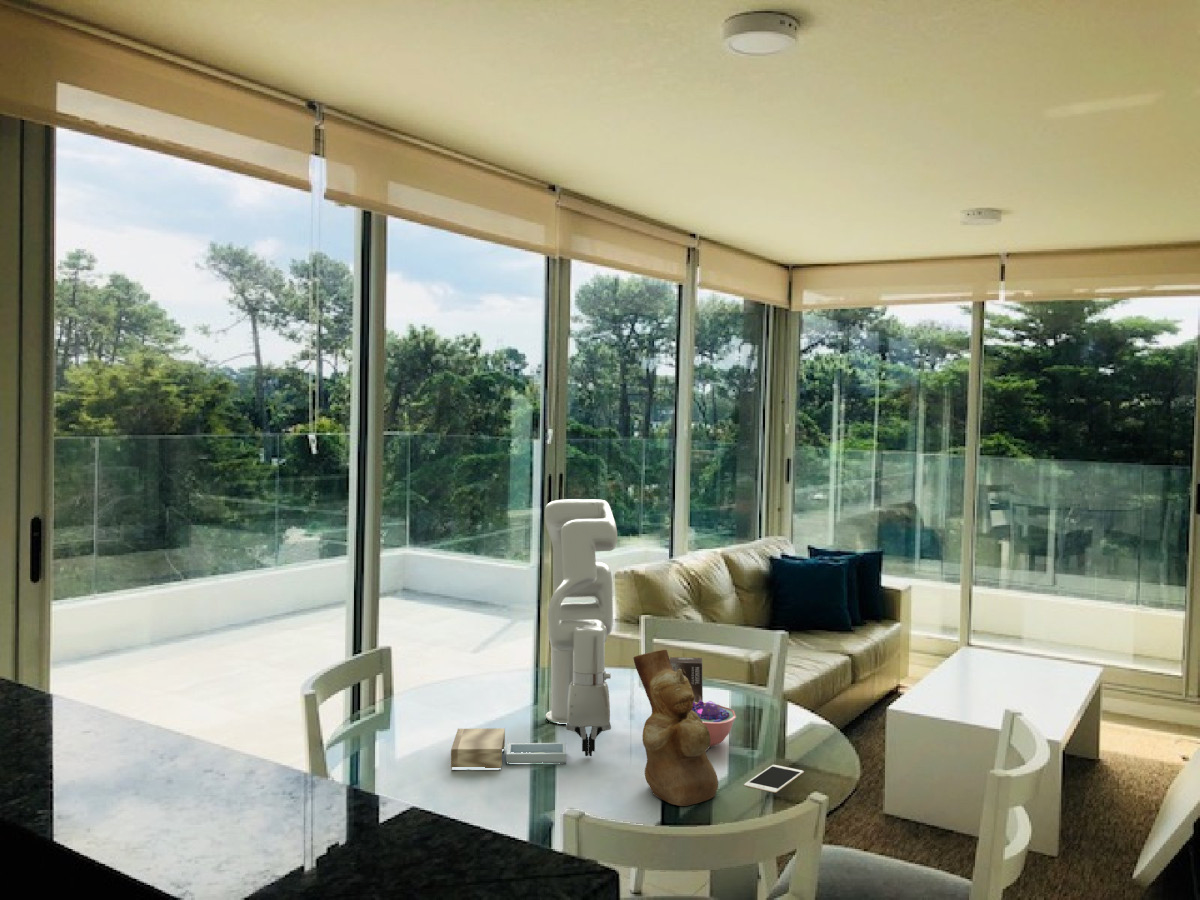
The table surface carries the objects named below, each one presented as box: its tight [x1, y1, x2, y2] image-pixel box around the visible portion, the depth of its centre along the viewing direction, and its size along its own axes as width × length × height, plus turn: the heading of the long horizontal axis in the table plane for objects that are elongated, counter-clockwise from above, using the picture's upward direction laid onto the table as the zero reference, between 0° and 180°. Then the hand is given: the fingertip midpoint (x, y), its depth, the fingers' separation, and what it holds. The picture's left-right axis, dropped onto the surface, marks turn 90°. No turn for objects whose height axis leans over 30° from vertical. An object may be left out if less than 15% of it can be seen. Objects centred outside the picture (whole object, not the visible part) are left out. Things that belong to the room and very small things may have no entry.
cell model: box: [692, 700, 737, 748], centre depth 246 cm, size 17×20×11 cm
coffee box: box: [669, 656, 704, 703], centre depth 268 cm, size 9×6×16 cm
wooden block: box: [450, 727, 506, 768], centre depth 234 cm, size 12×16×5 cm
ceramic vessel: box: [632, 648, 719, 807], centre depth 214 cm, size 16×22×30 cm
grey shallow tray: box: [505, 742, 567, 765], centre depth 234 cm, size 14×8×2 cm, turn 92°
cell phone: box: [743, 764, 805, 794], centre depth 222 cm, size 8×16×1 cm, turn 146°
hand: (588, 754), depth 235 cm, fingers closed
